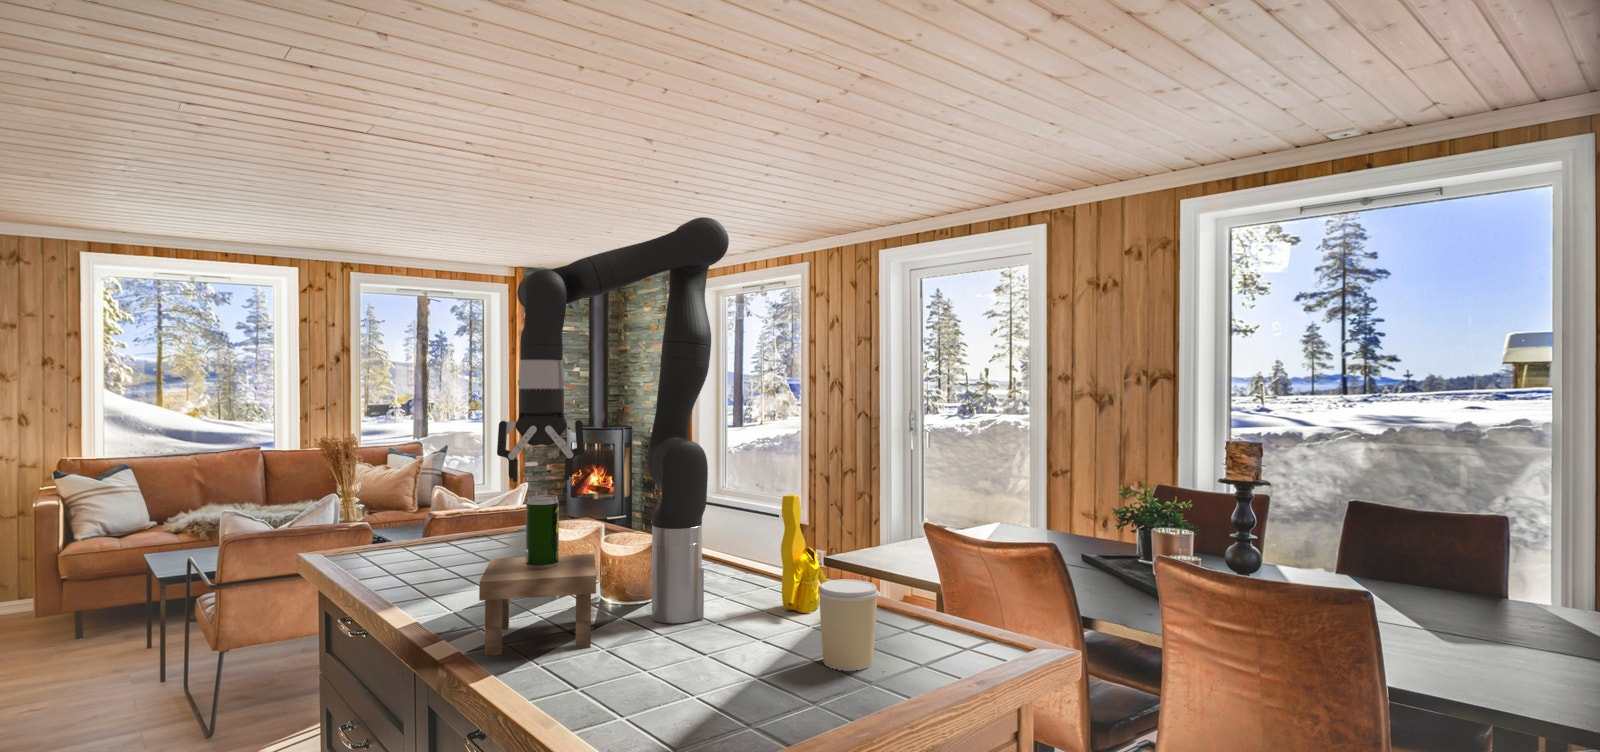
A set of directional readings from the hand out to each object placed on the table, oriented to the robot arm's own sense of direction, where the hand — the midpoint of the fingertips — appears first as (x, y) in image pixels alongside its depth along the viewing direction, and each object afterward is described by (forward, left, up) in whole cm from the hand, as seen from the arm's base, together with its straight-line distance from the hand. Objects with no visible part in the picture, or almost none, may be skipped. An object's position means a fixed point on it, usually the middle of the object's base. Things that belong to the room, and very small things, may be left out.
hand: (541, 480), depth 141 cm
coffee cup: (-47, +26, -27) cm, 60 cm away
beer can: (0, 0, -15) cm, 15 cm away
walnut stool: (0, 0, -27) cm, 27 cm away
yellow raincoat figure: (-48, -6, -27) cm, 56 cm away
